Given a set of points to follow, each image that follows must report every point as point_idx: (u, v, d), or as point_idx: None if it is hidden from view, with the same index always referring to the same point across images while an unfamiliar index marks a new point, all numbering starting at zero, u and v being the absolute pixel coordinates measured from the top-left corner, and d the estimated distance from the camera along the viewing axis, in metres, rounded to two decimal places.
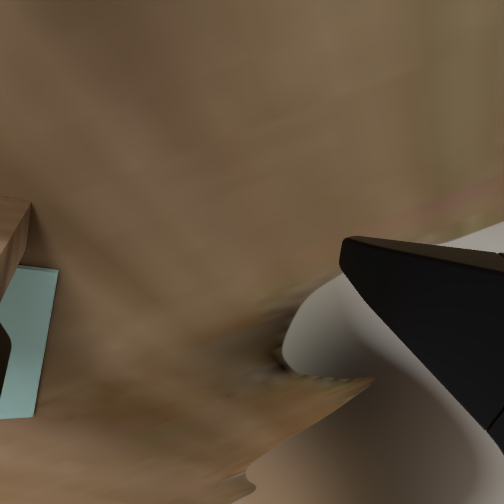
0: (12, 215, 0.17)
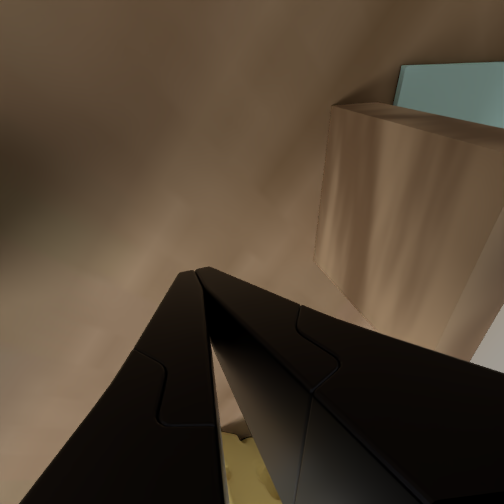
0: (350, 119, 0.18)
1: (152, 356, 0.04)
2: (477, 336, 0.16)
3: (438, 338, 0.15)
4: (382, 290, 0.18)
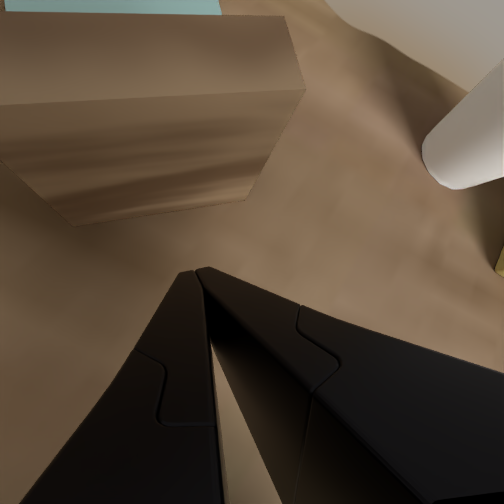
0: (69, 214, 0.19)
1: (152, 356, 0.04)
2: (233, 26, 0.12)
3: (228, 95, 0.12)
4: (219, 150, 0.16)
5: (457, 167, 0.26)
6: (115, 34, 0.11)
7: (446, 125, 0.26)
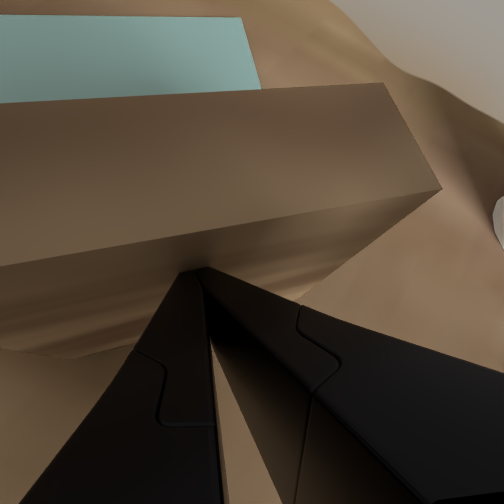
0: (63, 353, 0.13)
1: (152, 356, 0.04)
2: (315, 103, 0.08)
3: (323, 211, 0.07)
4: (281, 270, 0.10)
5: None
6: (131, 129, 0.06)
7: None
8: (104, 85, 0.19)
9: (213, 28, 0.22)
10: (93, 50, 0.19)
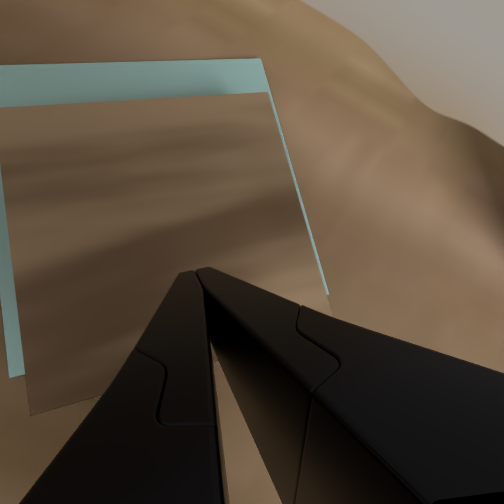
0: (36, 347, 0.11)
1: (152, 356, 0.04)
2: None
3: (206, 97, 0.15)
4: (229, 173, 0.14)
5: None
6: None
7: None
8: None
9: (230, 72, 0.20)
10: None
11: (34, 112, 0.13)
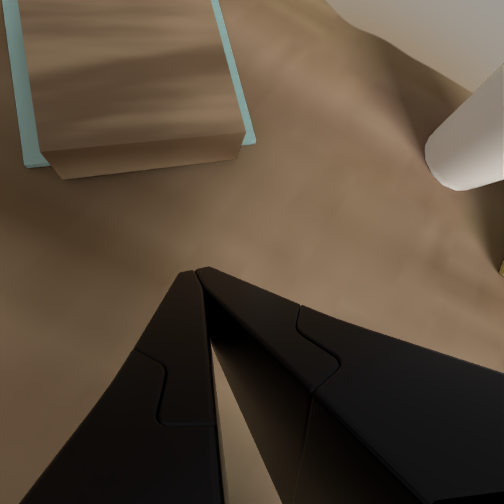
0: (43, 115, 0.18)
1: (152, 356, 0.04)
2: None
3: None
4: (175, 31, 0.21)
5: (461, 168, 0.26)
6: None
7: (449, 126, 0.26)
8: None
9: None
10: None
11: None
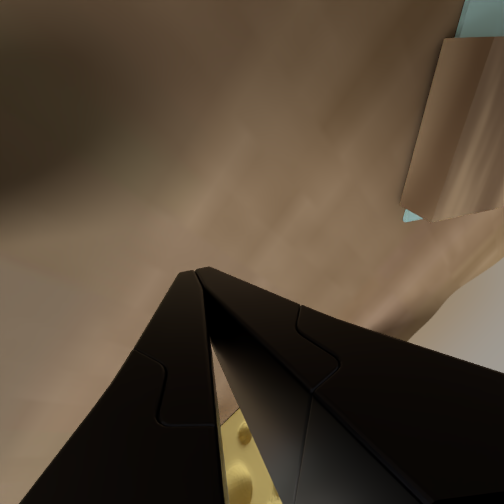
0: None
1: (152, 356, 0.04)
2: None
3: None
4: None
5: None
6: None
7: None
8: None
9: None
10: None
11: None
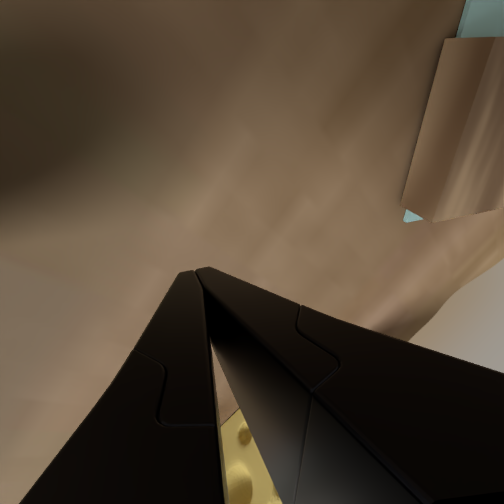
0: None
1: (152, 356, 0.04)
2: None
3: None
4: None
5: None
6: None
7: None
8: None
9: None
10: None
11: None
